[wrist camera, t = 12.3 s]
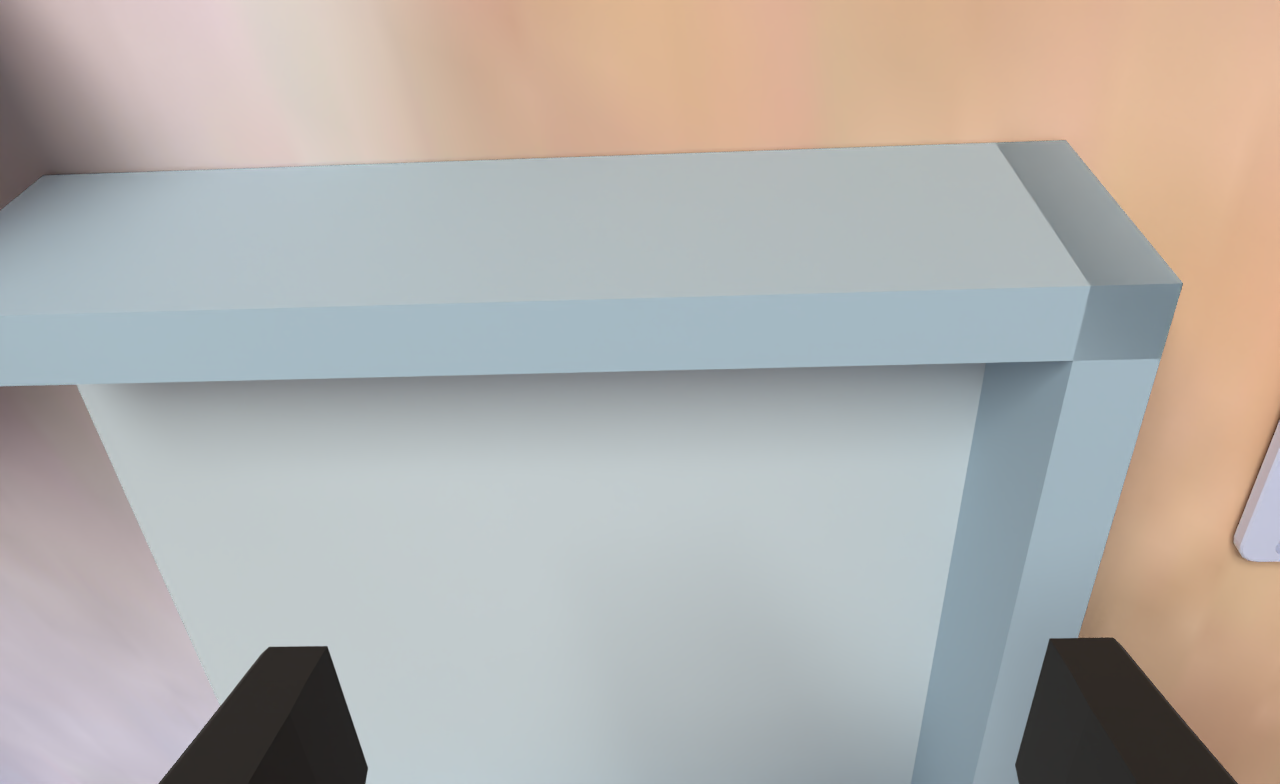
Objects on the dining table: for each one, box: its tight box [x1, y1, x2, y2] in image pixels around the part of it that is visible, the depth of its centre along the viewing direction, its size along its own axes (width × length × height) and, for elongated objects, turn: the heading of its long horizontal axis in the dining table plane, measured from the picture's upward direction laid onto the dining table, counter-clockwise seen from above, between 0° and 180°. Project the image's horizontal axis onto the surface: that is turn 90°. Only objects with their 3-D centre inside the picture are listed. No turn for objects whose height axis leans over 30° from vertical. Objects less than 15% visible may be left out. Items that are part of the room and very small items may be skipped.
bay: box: [0, 140, 1183, 784], centre depth 22 cm, size 18×19×5 cm
